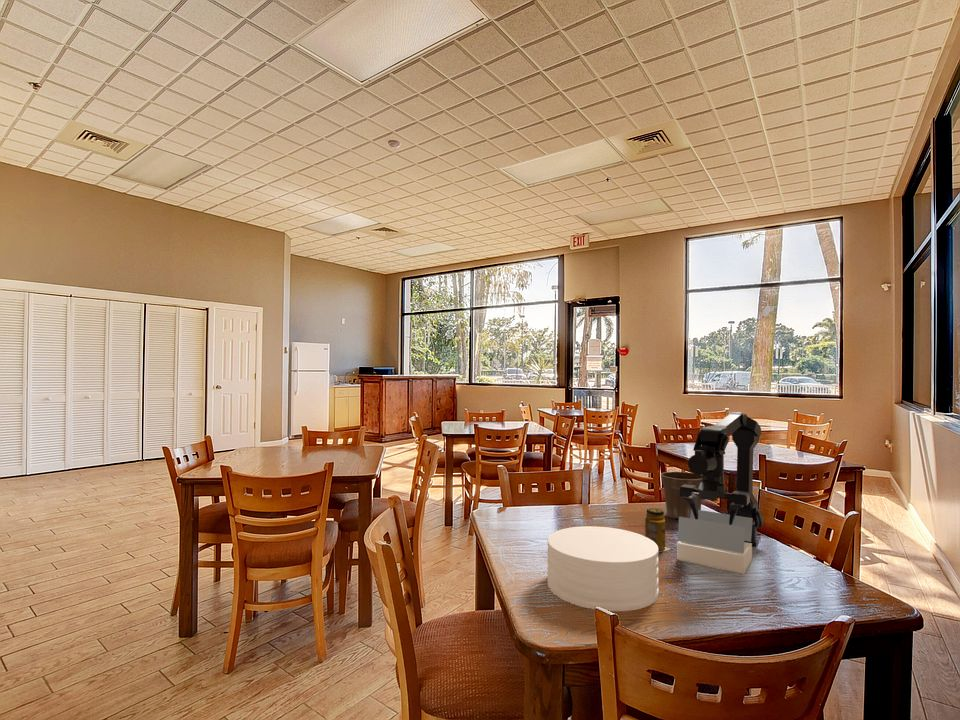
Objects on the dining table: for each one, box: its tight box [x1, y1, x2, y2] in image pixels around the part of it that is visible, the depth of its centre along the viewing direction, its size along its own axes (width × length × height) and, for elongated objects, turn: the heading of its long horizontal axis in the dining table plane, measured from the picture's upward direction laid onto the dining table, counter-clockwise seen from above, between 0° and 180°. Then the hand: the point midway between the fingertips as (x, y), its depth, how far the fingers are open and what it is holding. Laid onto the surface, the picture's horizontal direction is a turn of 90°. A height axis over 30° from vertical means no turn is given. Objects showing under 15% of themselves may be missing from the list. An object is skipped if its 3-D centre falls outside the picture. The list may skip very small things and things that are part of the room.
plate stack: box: [546, 525, 660, 612], centre depth 133 cm, size 28×28×12 cm
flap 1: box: [677, 517, 745, 553], centre depth 147 cm, size 7×18×1 cm
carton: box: [676, 541, 753, 575], centre depth 151 cm, size 13×18×5 cm
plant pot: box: [660, 471, 702, 520], centre depth 198 cm, size 16×16×16 cm
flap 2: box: [690, 509, 753, 542], centre depth 158 cm, size 7×18×1 cm
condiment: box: [644, 507, 672, 553], centre depth 162 cm, size 7×8×12 cm
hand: (713, 523), depth 151 cm, fingers open, 9 cm apart
